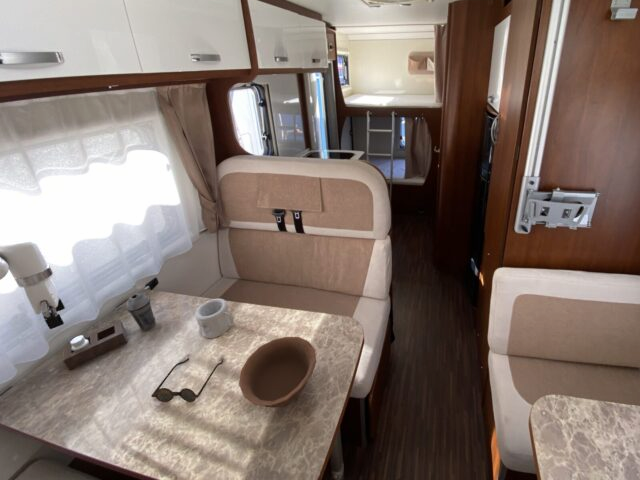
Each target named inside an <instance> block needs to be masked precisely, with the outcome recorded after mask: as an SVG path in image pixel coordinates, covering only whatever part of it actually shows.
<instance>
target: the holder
mask: <svg viewBox="0 0 640 480" xmlns="http://www.w3.org/2000/svg"><path fill="white" fill-rule="evenodd" d="M83 336H84V338H85V339H86V340H88V341H89V343H90V345H88V346H86V347H84V348H82V349H80V350H77V351H75V352H73V351H72V345H71V343H70V342H71V341H69V342H67V343H65V344H63V355H62V361H63V363H64V364H65V366H66V367H67V369H68V370H69V371H72V370H74V369H76V368H78V367H80V366H83V365H85V364H86V363H89V362H91V361H93V360H95V359H97V358H99V357H101V356H104V355H105V354H107V353H109V352H112V351H113V350H116V349H118V348H119V347H122V346H124V345H126V344H128V339H127V338H128V337H127V332H126V328H125V327H124V324H123V323H122V320H121V319H118V320H117V321H115V322H112V323H110V324H108V325H105V326H104V327H101V328H99V329H96V330H95V331H92V332H90V333H88V334H85V335H83ZM77 366H78V367H77ZM75 367H76V368H75ZM73 368H74V369H73ZM71 369H72V370H71Z"/></svg>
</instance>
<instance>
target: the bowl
mask: <svg viewBox="0 0 640 480" xmlns="http://www.w3.org/2000/svg"><path fill="white" fill-rule="evenodd" d="M316 364H317V355H316V349H315V348H314V346H313V345H312V343H311V342H310V341H309V340H307V339H304V338H302V337H300V336H284V337H278V338H275V339H271V340H269V341H267V342H266V343H264V344H262V345H260V346H259V347H258V348H257V349H256V350H255V351H254V352H252V354H250V355H249V357H248V358H247V359H246V361H245V362H244V364H243V366H242V367H241V370H240V375H239V381H238V387H239V389H240V391H241V394H242V396H243V397H244V398H245V399H246V400H248V401H249V402H251V403H252V404H253V405H255V406H263V407H265V408H275V409H276V408H277V409H278V408H281V407H283V406H286V405H288V404H290V403H291V402H292V401H293V400H295V399H296V398H297V397H298V396H299V395H300V394H301V392H302V391H304V389H305V387H306V386H307V383H308V381H309V379H310V378H311V377H312V375H313V373H314V370H315V367H316Z"/></svg>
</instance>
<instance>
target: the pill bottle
mask: <svg viewBox="0 0 640 480" xmlns="http://www.w3.org/2000/svg"><path fill="white" fill-rule="evenodd" d="M84 336H85V335H78V336H76V337H74V338H72V339H71V340H70V341H69V342H70V343H71V345H72V351H73V352H75V351H77V350H80V349H82V348H84V347H86V346H88V345H90V343H89V341H88V340H86V339H85V338H84Z"/></svg>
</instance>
